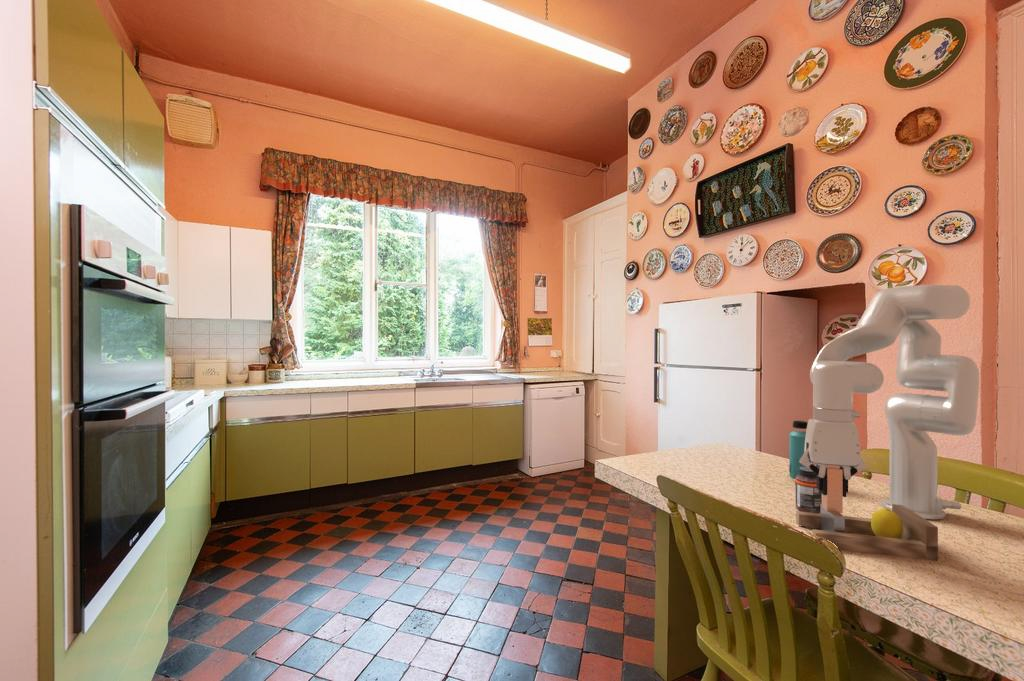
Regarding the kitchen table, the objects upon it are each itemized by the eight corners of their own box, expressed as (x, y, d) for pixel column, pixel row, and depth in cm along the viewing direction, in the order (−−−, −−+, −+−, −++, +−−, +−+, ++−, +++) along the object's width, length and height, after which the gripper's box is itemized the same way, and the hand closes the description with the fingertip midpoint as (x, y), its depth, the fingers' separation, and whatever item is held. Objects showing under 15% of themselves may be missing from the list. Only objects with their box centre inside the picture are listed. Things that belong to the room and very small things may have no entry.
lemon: (909, 549, 96) (910, 513, 96) (884, 548, 96) (884, 512, 96) (888, 537, 102) (888, 503, 102) (864, 537, 102) (864, 503, 102)
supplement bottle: (801, 504, 122) (801, 464, 122) (825, 511, 117) (826, 469, 117) (791, 509, 119) (791, 467, 119) (815, 516, 114) (816, 473, 114)
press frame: (902, 534, 103) (902, 504, 104) (937, 560, 91) (937, 527, 91) (796, 523, 110) (796, 495, 110) (815, 546, 97) (815, 515, 97)
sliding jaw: (832, 529, 105) (832, 463, 105) (847, 544, 98) (847, 472, 98) (818, 527, 106) (818, 462, 106) (831, 542, 99) (831, 471, 99)
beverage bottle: (817, 486, 138) (817, 422, 138) (796, 486, 138) (796, 422, 138) (804, 479, 145) (804, 419, 145) (784, 479, 145) (784, 419, 145)
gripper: (866, 414, 103) (866, 492, 103) (787, 411, 108) (787, 485, 108) (882, 420, 96) (882, 503, 96) (797, 416, 101) (797, 495, 101)
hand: (832, 493), depth 102 cm, fingers closed on sliding jaw, 3 cm apart
